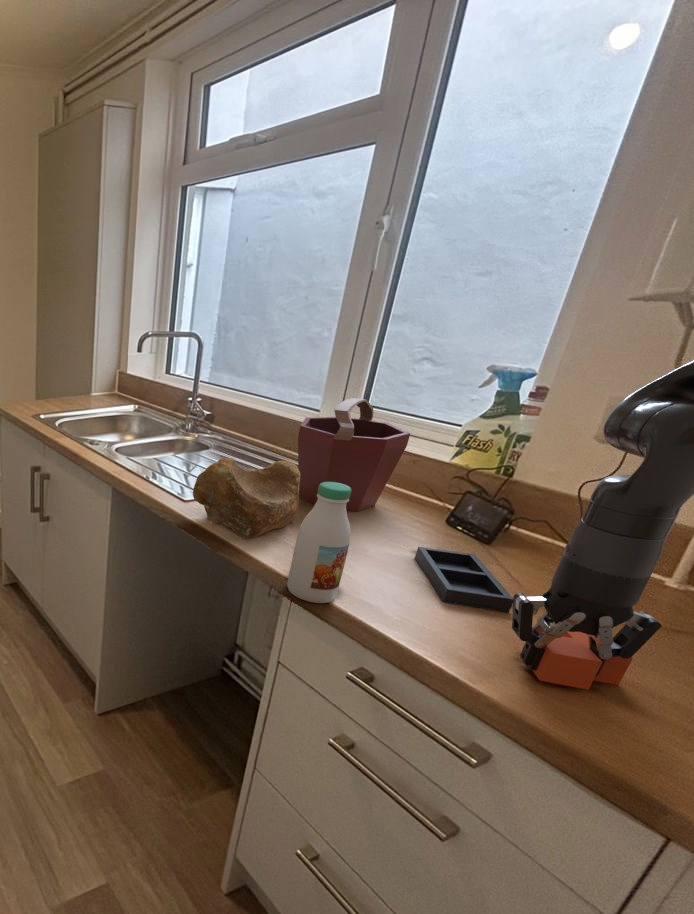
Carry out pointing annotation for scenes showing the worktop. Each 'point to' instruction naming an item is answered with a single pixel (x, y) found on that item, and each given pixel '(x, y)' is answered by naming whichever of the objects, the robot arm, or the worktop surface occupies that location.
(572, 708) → the worktop surface
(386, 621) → the worktop surface
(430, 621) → the worktop surface
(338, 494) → the milk bottle
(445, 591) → the frame
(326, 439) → the bucket
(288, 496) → the rough brown rock
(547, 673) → the orange square block
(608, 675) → the orange block
